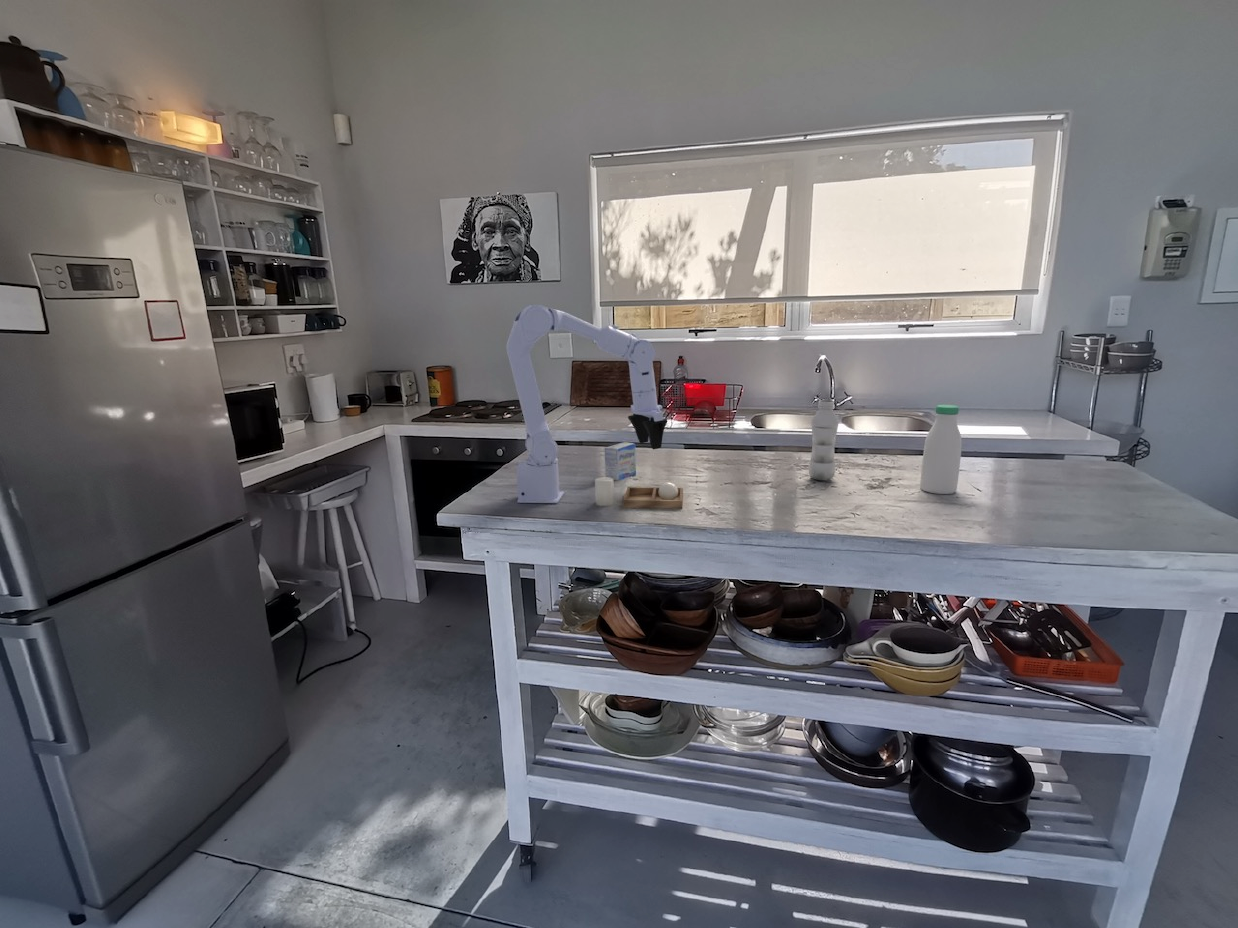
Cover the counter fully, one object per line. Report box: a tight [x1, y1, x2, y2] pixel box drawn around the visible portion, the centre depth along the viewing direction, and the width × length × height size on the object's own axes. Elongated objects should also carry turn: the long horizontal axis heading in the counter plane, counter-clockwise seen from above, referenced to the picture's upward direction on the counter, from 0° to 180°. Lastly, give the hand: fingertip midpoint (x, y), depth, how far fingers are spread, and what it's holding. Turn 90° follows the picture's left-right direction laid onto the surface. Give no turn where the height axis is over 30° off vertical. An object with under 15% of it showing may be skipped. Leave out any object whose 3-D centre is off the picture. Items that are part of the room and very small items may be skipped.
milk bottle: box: [919, 404, 963, 495], centre depth 140 cm, size 8×8×20 cm
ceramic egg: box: [659, 481, 678, 500], centre depth 137 cm, size 4×4×4 cm
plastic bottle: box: [808, 399, 839, 481], centre depth 151 cm, size 6×7×20 cm
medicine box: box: [604, 441, 637, 481], centre depth 158 cm, size 8×4×9 cm, turn 143°
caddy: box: [622, 486, 684, 510], centre depth 138 cm, size 13×10×2 cm
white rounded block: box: [594, 476, 615, 507], centre depth 137 cm, size 4×4×6 cm
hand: (650, 445), depth 148 cm, fingers open, 7 cm apart
